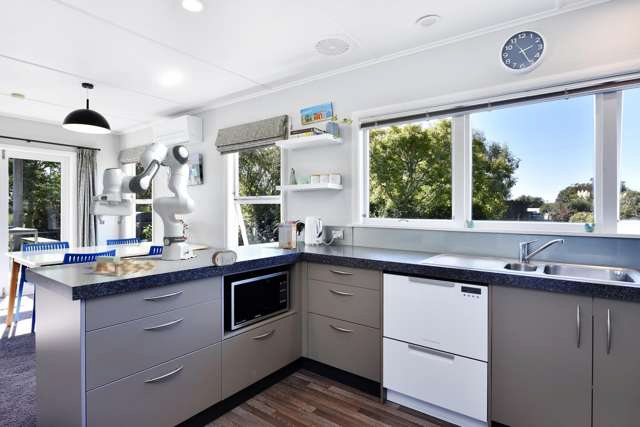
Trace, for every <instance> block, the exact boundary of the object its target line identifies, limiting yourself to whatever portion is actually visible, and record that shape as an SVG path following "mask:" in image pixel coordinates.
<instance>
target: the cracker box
mask: <svg viewBox="0 0 640 427" xmlns="http://www.w3.org/2000/svg"><path fill="white" fill-rule="evenodd" d="M279 248H296V249H297V223H287V222H286V223H284V222H283V223H281V222H279V223H278V249H279Z"/></svg>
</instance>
